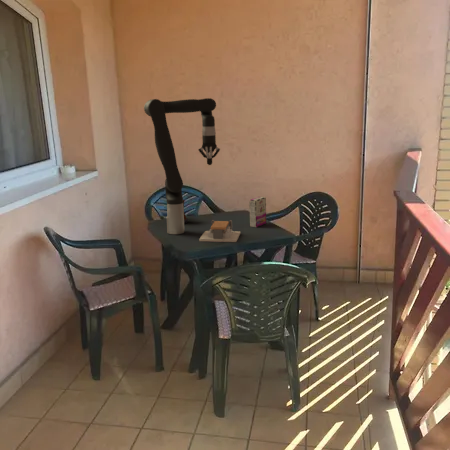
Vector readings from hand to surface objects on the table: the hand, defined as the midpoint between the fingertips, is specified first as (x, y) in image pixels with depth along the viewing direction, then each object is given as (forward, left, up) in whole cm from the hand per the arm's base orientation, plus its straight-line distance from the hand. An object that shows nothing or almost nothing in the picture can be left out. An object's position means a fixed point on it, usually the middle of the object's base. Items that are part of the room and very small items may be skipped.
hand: (209, 164), depth 285 cm
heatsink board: (+9, -22, -37) cm, 44 cm away
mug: (-24, +12, -37) cm, 46 cm away
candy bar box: (+27, +6, -37) cm, 46 cm away
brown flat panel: (+9, -16, -30) cm, 35 cm away
